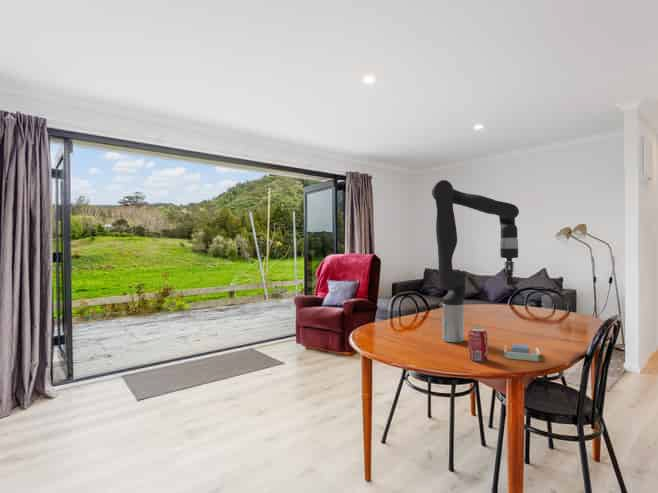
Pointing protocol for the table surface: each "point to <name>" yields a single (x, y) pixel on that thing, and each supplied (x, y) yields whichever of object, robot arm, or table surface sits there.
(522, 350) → the pale blue cube
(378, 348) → the table surface
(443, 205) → the robot arm
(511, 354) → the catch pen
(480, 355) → the soda can
